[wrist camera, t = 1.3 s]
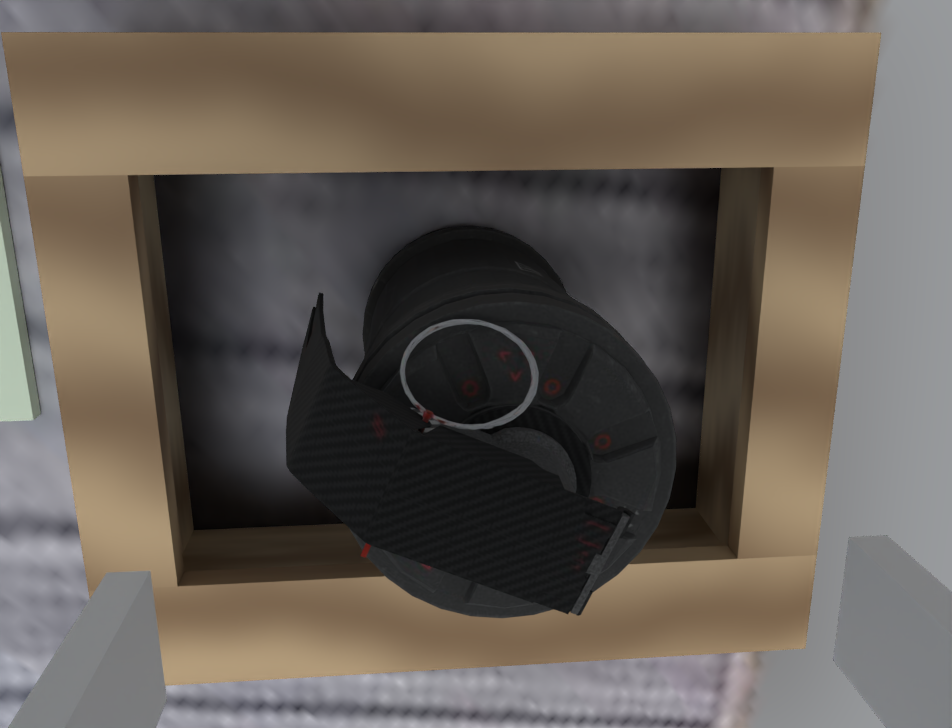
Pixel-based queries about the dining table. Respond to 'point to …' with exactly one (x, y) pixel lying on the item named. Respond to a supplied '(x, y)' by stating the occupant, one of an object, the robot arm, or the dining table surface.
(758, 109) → the crate
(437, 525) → the black shaker bottle
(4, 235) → the board
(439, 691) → the dining table surface
